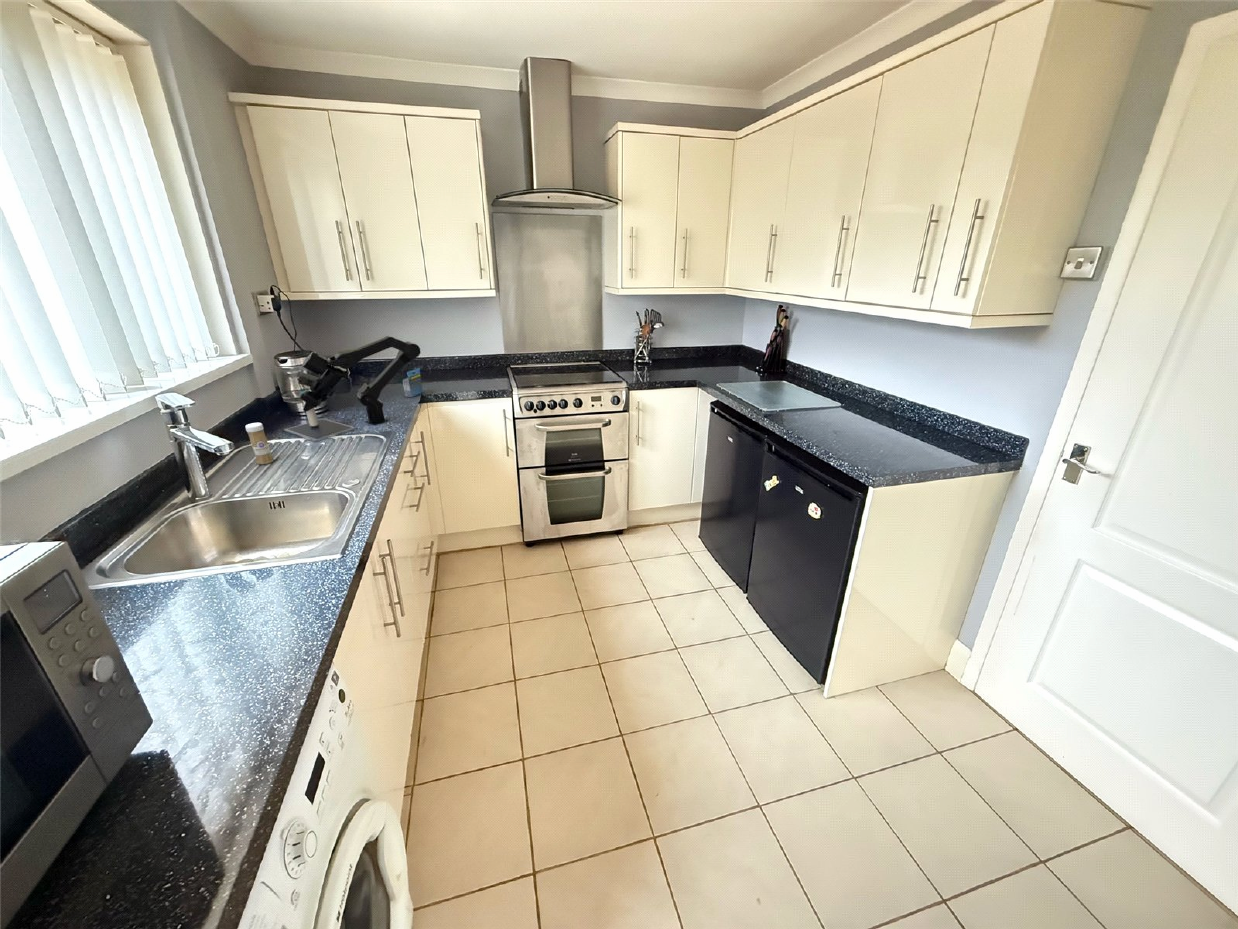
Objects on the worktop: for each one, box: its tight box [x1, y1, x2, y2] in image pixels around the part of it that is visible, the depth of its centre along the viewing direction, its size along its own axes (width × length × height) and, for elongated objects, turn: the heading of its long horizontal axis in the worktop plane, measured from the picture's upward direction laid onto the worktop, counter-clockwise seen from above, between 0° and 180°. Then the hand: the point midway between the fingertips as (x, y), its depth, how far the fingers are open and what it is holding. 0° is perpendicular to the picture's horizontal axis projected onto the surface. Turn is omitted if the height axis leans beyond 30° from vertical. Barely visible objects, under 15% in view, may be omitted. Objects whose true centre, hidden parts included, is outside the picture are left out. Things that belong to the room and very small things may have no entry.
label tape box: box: [402, 367, 424, 398], centre depth 236 cm, size 9×4×12 cm, turn 164°
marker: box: [299, 390, 319, 428], centre depth 191 cm, size 3×3×14 cm
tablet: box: [283, 418, 357, 443], centre depth 193 cm, size 22×16×1 cm
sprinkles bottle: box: [245, 422, 274, 465], centre depth 162 cm, size 5×5×13 cm
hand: (306, 409), depth 191 cm, fingers closed on marker, 3 cm apart
